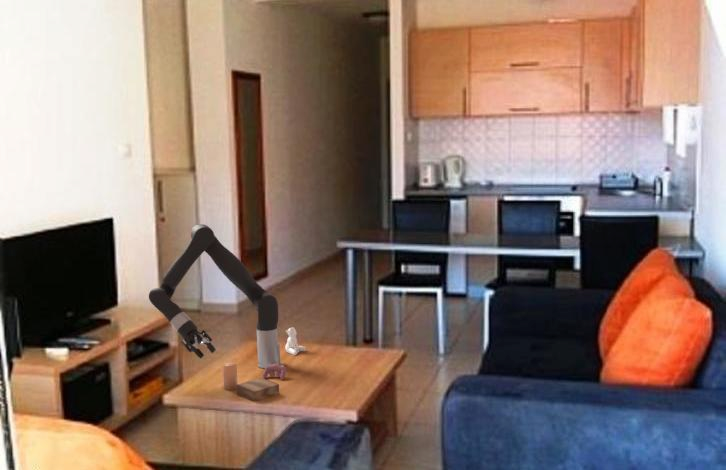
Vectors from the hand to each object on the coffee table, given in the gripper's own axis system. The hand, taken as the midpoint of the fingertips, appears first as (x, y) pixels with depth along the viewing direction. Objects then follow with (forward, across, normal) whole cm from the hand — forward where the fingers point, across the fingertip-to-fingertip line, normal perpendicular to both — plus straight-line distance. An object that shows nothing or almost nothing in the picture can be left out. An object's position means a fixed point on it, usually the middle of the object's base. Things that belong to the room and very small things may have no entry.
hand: (208, 354), depth 313 cm
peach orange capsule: (+17, 0, +2) cm, 17 cm away
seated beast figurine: (+18, +54, +2) cm, 57 cm away
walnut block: (+27, -3, -8) cm, 28 cm away
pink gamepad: (+25, +17, -5) cm, 31 cm away
